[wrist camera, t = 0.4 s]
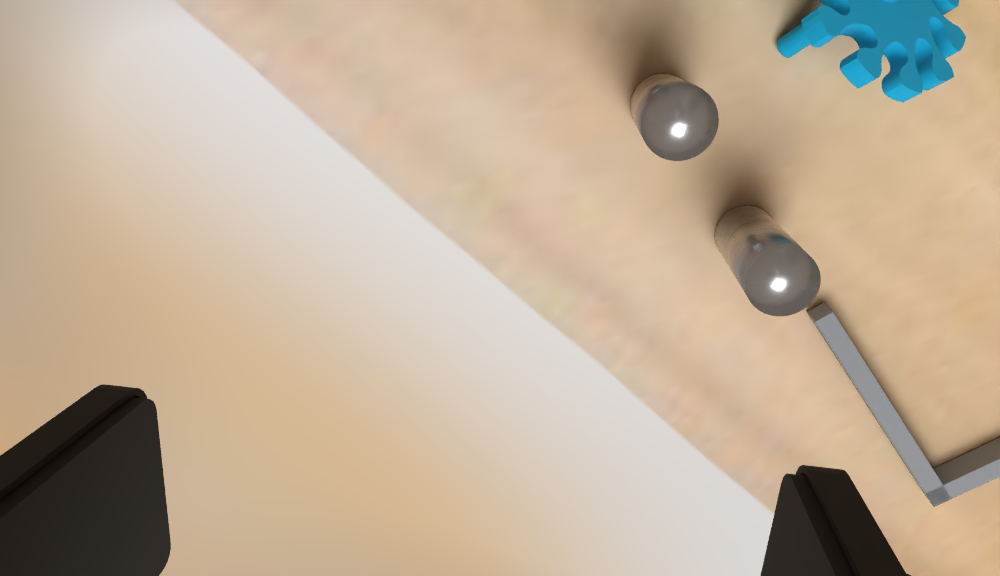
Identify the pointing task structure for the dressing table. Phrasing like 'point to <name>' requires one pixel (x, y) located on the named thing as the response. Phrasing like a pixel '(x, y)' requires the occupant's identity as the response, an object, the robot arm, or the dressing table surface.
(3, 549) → the robot arm
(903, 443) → the frame
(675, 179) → the dressing table surface
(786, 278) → the spacer posts
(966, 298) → the dressing table surface
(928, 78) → the gear
